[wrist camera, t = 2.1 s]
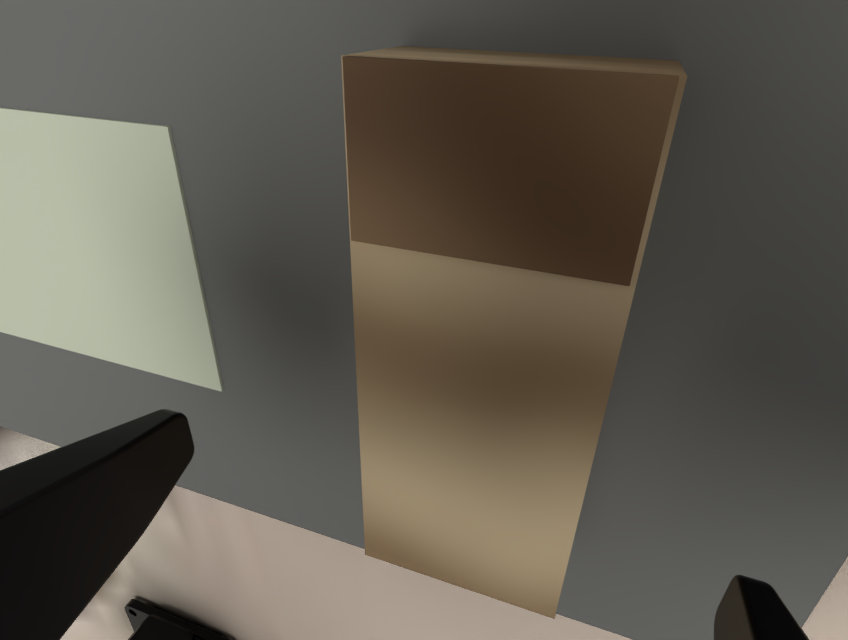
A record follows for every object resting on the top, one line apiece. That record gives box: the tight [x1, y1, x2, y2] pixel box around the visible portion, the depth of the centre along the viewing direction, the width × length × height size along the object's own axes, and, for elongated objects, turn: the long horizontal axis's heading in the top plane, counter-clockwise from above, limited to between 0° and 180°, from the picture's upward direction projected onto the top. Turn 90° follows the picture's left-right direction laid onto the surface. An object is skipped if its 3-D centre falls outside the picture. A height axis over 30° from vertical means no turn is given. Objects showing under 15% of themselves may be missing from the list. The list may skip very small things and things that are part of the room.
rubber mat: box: [0, 0, 848, 640], centre depth 15 cm, size 19×32×1 cm, turn 89°
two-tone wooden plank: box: [341, 46, 687, 619], centre depth 12 cm, size 12×5×3 cm, turn 179°
